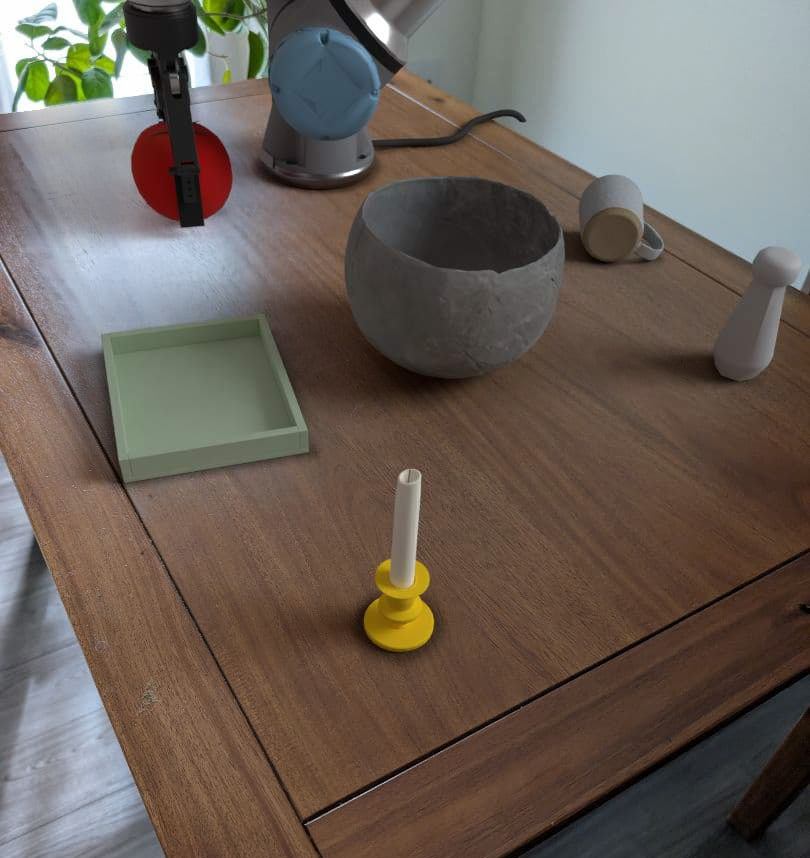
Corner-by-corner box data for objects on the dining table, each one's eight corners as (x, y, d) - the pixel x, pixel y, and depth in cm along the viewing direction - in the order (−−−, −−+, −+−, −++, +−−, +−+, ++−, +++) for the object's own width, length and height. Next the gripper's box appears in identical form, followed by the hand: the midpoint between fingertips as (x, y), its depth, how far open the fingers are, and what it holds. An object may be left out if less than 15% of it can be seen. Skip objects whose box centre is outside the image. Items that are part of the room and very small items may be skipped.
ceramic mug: (575, 262, 102) (589, 200, 97) (572, 230, 108) (586, 169, 102) (663, 272, 102) (683, 211, 97) (656, 239, 108) (675, 179, 102)
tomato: (249, 226, 104) (241, 138, 97) (153, 242, 101) (138, 152, 93) (218, 184, 112) (209, 99, 104) (128, 198, 108) (112, 111, 100)
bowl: (395, 437, 79) (404, 291, 68) (314, 321, 91) (311, 182, 80) (582, 388, 85) (618, 248, 74) (483, 286, 98) (501, 153, 87)
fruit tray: (266, 335, 89) (264, 313, 87) (308, 452, 77) (307, 430, 75) (106, 356, 85) (100, 333, 83) (124, 483, 73) (118, 460, 71)
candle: (362, 651, 62) (366, 497, 51) (364, 596, 66) (369, 439, 54) (434, 653, 62) (454, 500, 51) (432, 598, 66) (451, 443, 55)
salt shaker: (765, 361, 90) (815, 246, 81) (762, 392, 87) (814, 275, 77) (709, 348, 91) (751, 233, 82) (704, 378, 88) (748, 261, 78)
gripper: (111, -32, 96) (141, 158, 112) (134, 42, 80) (165, 252, 96) (179, -33, 98) (199, 154, 114) (214, 39, 82) (232, 246, 98)
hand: (184, 199), depth 105 cm, fingers open, 13 cm apart
